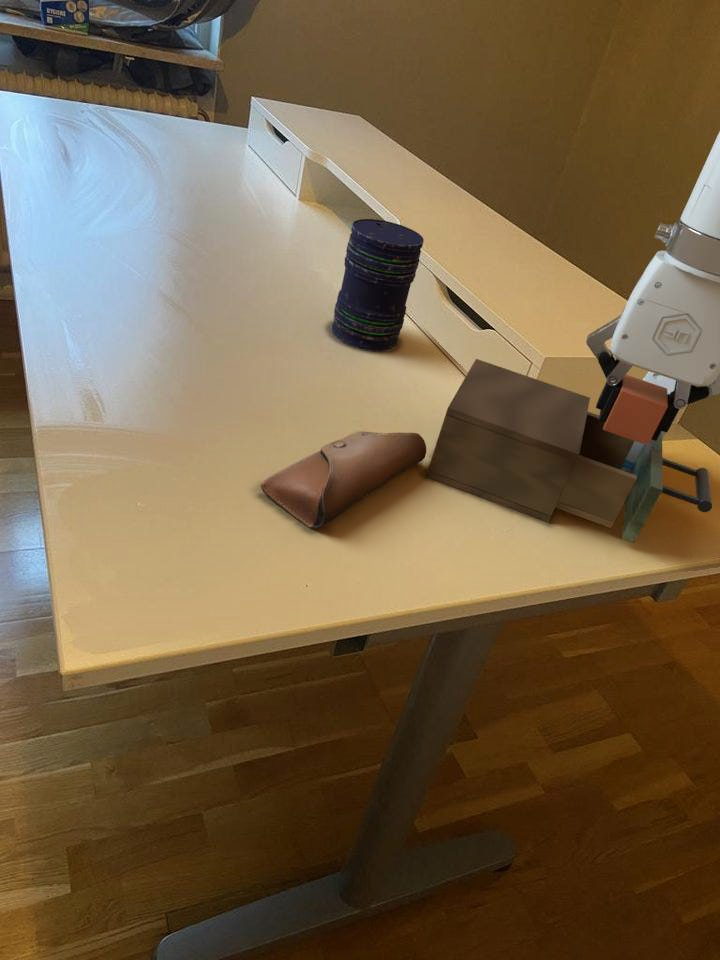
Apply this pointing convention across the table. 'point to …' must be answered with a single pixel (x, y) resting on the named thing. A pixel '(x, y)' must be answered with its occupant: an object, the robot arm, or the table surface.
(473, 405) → the cabinet
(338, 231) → the table surface
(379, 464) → the sunglasses case
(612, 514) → the drawer
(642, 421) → the block
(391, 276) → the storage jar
